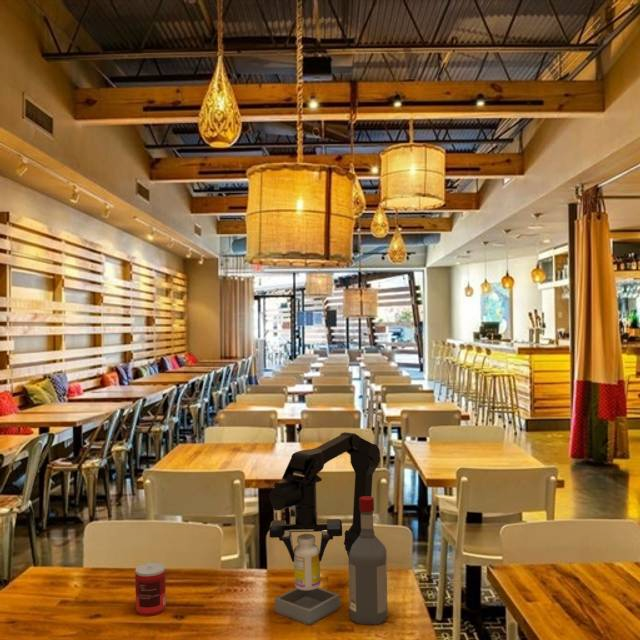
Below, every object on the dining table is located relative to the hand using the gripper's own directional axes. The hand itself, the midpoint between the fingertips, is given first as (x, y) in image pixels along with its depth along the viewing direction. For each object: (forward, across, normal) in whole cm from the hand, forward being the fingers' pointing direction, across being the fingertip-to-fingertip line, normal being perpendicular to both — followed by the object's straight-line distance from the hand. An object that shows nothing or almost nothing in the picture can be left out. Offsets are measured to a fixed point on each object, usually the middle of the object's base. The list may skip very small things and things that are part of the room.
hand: (306, 561), depth 164 cm
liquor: (+13, -16, +4) cm, 21 cm away
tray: (+13, 0, 0) cm, 13 cm away
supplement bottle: (+7, 0, 0) cm, 7 cm away
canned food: (+13, +41, -2) cm, 43 cm away
